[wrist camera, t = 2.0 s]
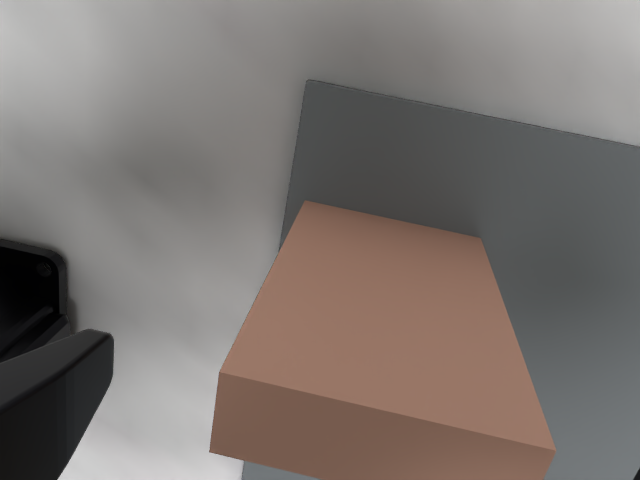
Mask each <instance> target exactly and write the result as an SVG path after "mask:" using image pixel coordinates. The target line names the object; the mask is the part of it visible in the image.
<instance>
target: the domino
mask: <svg viewBox="0 0 640 480" xmlns="http://www.w3.org/2000/svg"><path fill="white" fill-rule="evenodd" d="M209 452H211V453H215V454H219V455H223V456H227V457H231V458H236V459H240V460H244V461H248V462H252V463H256V464H260V465H264V466H269V467H273V468H277V469H281V470H285V471H289V472H293V473H298V474H302V475H306V476H310V477H314V478H318V479H322V480H543V479H544V477H545V474H546V472H547V470H548V468H549V466H550V464H551V462H552V460H553V457H554V455H555V453H556V448H555V445H554V442H553V439H552V437H551V434H550V431H549V428H548V425H547V423H546V420H545V417H544V414H543V411H542V408H541V406H540V403H539V400H538V397H537V394H536V392H535V389H534V386H533V383H532V380H531V378H530V375H529V372H528V369H527V366H526V364H525V361H524V358H523V355H522V352H521V350H520V347H519V344H518V341H517V338H516V336H515V333H514V330H513V327H512V324H511V322H510V319H509V316H508V313H507V310H506V307H505V305H504V302H503V299H502V296H501V293H500V291H499V288H498V285H497V282H496V279H495V277H494V274H493V271H492V268H491V265H490V263H489V260H488V257H487V254H486V251H485V249H484V246H483V243H482V240H481V238H478V237H474V236H469V235H464V234H460V233H455V232H450V231H446V230H441V229H436V228H432V227H427V226H422V225H418V224H413V223H408V222H404V221H399V220H394V219H390V218H385V217H381V216H376V215H371V214H367V213H362V212H357V211H353V210H348V209H343V208H339V207H334V206H329V205H325V204H320V203H315V202H311V201H306V200H305V201H304V203H303V205H302V207H301V209H300V211H299V213H298V215H297V217H296V219H295V221H294V223H293V225H292V227H291V229H290V231H289V233H288V235H287V237H286V239H285V241H284V243H283V245H282V247H281V249H280V251H279V253H278V255H277V257H276V259H275V261H274V263H273V265H272V267H271V269H270V271H269V273H268V275H267V277H266V279H265V281H264V283H263V285H262V287H261V289H260V291H259V293H258V295H257V297H256V299H255V301H254V303H253V305H252V307H251V309H250V311H249V313H248V315H247V317H246V319H245V321H244V323H243V325H242V327H241V329H240V331H239V333H238V336H237V338H236V340H235V342H234V344H233V346H232V348H231V350H230V352H229V354H228V356H227V358H226V360H225V362H224V364H223V366H222V368H221V370H220V372H219V379H218V387H217V395H216V403H215V411H214V419H213V426H212V434H211V442H210V450H209Z"/></svg>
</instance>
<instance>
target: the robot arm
mask: <svg viewBox="0 0 640 480" xmlns="http://www.w3.org/2000/svg"><path fill="white" fill-rule="evenodd" d="M44 263H46V264H48V266H49V267H50V268H51V271H49V270H47V269H46V267H45V266H44ZM113 361H114V338H113V336H112V335H111V334H110V333H107V332H103V331H99V330H94V329H87V330H84V331H81V332H79V333H76V334H73V335H71V336H70V322H69V319H68V317H67V307H66V266H65V262H64V260H63V259H62V257H61V256H60V255H58V254H57V253H55V252H53V251H50V250H46V249H41V248H37V247H33V246H28V245H24V244H19V243H15V242H10V241H6V240H2V239H0V480H57V479H58V478H59V476H60V475H61V473H62V472H63V470H64V469H65V467H66V466H67V464H68V462H69V460H70V459H71V457H72V455H73V453H74V452H75V450H76V448H77V446H78V444H79V442H80V440H81V438H82V437H83V435H84V433H85V431H86V429H87V427H88V425H89V423H90V422H91V420H92V418H93V416H94V414H95V412H96V410H97V409H98V407H99V405H100V403H101V401H102V399H103V397H104V395H105V394H106V392H107V390H108V388H109V386H110V383H111V380H112V377H113ZM633 480H640V468H639V470H638V471H637V473H636V475H635V477H634V478H633Z"/></svg>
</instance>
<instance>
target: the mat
mask: <svg viewBox="0 0 640 480" xmlns="http://www.w3.org/2000/svg"><path fill="white" fill-rule="evenodd" d="M305 200H306V201H311V202H315V203H320V204H325V205H329V206H334V207H339V208H343V209H348V210H353V211H357V212H362V213H367V214H371V215H376V216H381V217H385V218H390V219H394V220H399V221H404V222H408V223H413V224H418V225H422V226H427V227H432V228H436V229H441V230H446V231H450V232H455V233H460V234H464V235H469V236H474V237H478V238H481V240H482V243H483V246H484V249H485V251H486V254H487V257H488V260H489V263H490V265H491V268H492V271H493V274H494V277H495V279H496V282H497V285H498V288H499V291H500V293H501V296H502V299H503V302H504V305H505V307H506V310H507V313H508V316H509V319H510V322H511V324H512V327H513V330H514V333H515V336H516V338H517V341H518V344H519V347H520V350H521V352H522V355H523V358H524V361H525V364H526V366H527V369H528V372H529V375H530V378H531V380H532V383H533V386H534V389H535V392H536V394H537V397H538V400H539V403H540V406H541V408H542V411H543V414H544V417H545V420H546V423H547V425H548V428H549V431H550V434H551V437H552V439H553V442H554V445H555V448H556V453H555V455H554V457H553V460H552V462H551V464H550V466H549V468H548V470H547V472H546V474H545V477H544V479H543V480H633V478H634V477H635V475H636V473H637V471H638V470H639V468H640V147H638V146H633V145H628V144H623V143H618V142H613V141H608V140H603V139H599V138H594V137H589V136H584V135H579V134H574V133H569V132H564V131H559V130H554V129H549V128H544V127H539V126H535V125H530V124H525V123H520V122H515V121H510V120H505V119H500V118H495V117H490V116H485V115H480V114H475V113H471V112H466V111H461V110H456V109H451V108H446V107H441V106H436V105H431V104H426V103H421V102H416V101H411V100H407V99H402V98H397V97H392V96H387V95H382V94H377V93H372V92H367V91H362V90H357V89H352V88H347V87H343V86H338V85H333V84H328V83H323V82H318V81H313V80H308V81H306V86H305V93H304V99H303V105H302V111H301V117H300V123H299V130H298V136H297V142H296V148H295V154H294V160H293V167H292V173H291V179H290V185H289V191H288V197H287V204H286V210H285V216H284V222H283V228H282V234H281V241H280V247H279V251H280V249H281V247H282V245H283V243H284V241H285V239H286V237H287V235H288V233H289V231H290V229H291V227H292V225H293V223H294V221H295V219H296V217H297V215H298V213H299V211H300V209H301V207H302V205H303V203H304V201H305ZM242 480H322V479H318V478H314V477H310V476H306V475H302V474H298V473H293V472H289V471H285V470H281V469H277V468H273V467H269V466H264V465H260V464H256V463H252V462H248V461H245V463H244V469H243V475H242Z"/></svg>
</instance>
